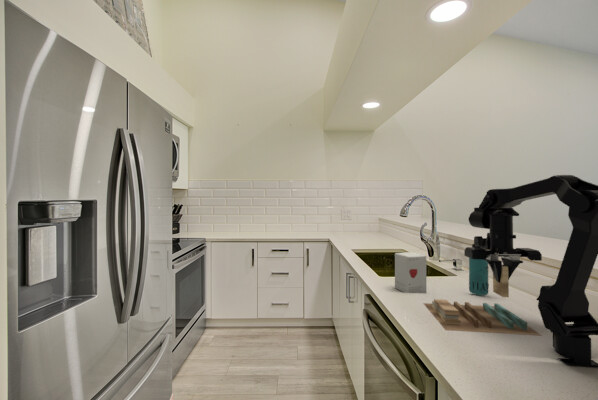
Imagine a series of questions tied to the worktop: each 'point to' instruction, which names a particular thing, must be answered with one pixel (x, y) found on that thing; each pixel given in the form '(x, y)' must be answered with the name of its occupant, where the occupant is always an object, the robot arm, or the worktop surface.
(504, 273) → the tan rectangular block
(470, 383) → the worktop surface
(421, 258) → the supplement box
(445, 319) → the offcut stack
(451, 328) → the rack
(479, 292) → the beverage bottle
